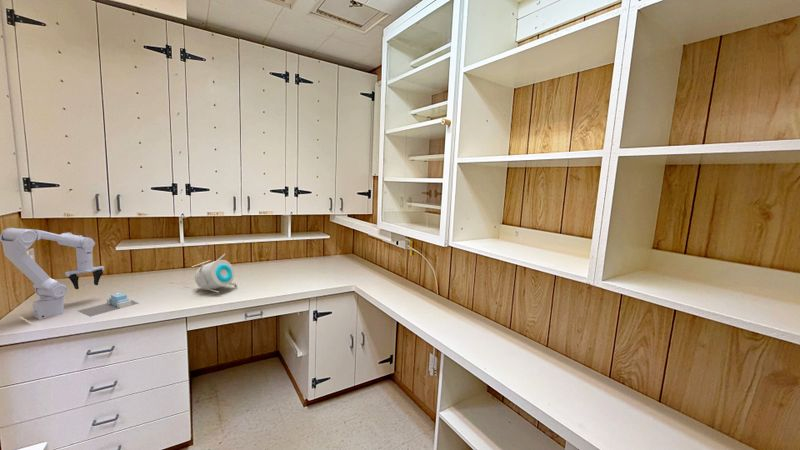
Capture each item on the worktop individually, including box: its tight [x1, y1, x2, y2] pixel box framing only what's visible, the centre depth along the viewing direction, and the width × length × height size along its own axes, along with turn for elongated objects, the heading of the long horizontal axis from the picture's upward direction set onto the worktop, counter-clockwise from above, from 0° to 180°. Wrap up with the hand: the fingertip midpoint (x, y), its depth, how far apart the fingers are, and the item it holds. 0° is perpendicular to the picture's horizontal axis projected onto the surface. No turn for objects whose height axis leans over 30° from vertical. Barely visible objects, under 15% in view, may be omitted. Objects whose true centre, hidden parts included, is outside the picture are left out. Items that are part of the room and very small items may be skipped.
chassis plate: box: [77, 297, 140, 317], centre depth 163 cm, size 20×12×4 cm, turn 155°
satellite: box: [191, 252, 238, 297], centre depth 196 cm, size 23×20×25 cm
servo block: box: [108, 292, 130, 306], centre depth 167 cm, size 4×10×6 cm, turn 64°
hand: (86, 286), depth 165 cm, fingers open, 7 cm apart
